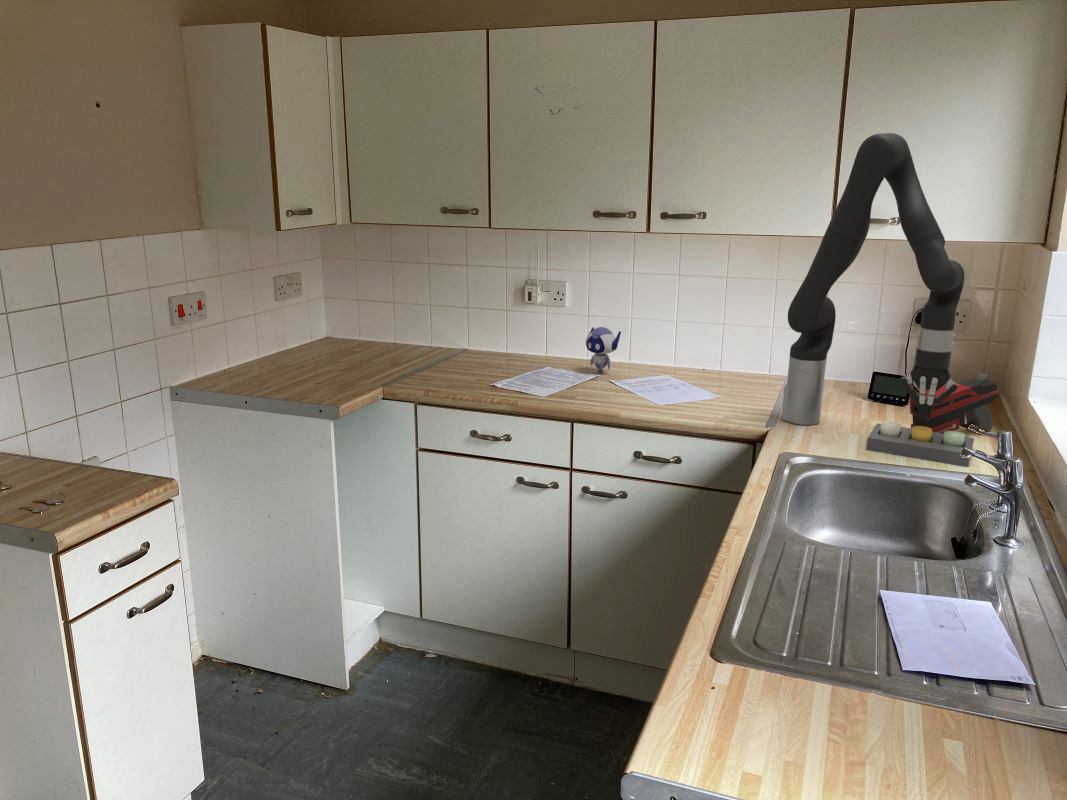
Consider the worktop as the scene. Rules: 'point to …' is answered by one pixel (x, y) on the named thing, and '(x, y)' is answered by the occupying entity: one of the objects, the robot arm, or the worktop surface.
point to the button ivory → (890, 428)
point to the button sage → (953, 438)
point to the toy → (601, 346)
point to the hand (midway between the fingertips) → (924, 418)
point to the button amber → (921, 433)
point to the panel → (918, 446)
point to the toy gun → (960, 406)
